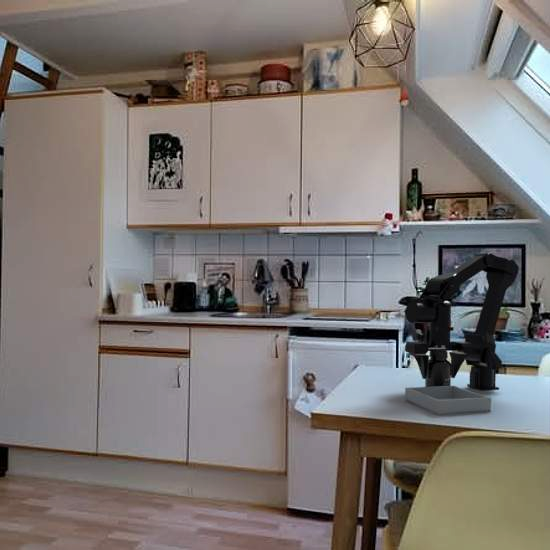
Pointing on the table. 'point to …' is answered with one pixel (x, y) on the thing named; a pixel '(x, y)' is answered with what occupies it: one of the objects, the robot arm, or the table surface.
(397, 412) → the table surface
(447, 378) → the supplement bottle
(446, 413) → the tub
